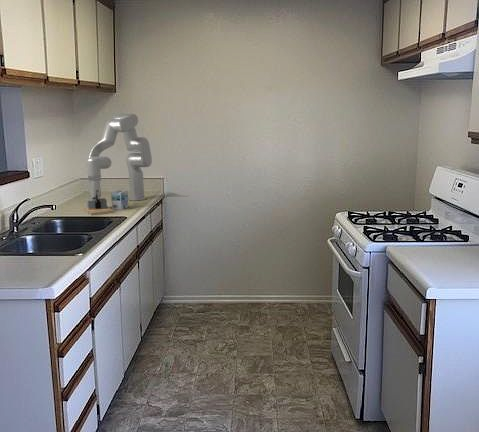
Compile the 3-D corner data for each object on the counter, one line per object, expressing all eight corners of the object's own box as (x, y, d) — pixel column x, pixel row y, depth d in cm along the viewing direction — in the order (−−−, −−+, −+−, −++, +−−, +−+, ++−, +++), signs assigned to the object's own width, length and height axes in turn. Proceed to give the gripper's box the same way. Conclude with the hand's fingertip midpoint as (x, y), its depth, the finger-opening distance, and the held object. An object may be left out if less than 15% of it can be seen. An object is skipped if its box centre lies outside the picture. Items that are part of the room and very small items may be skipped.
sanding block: (87, 207, 341) (86, 199, 340) (105, 206, 345) (104, 198, 344) (88, 209, 335) (88, 201, 334) (107, 207, 340) (106, 199, 339)
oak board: (83, 209, 344) (82, 207, 344) (105, 207, 350) (105, 205, 350) (91, 215, 325) (90, 212, 324) (114, 212, 331) (114, 210, 331)
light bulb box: (122, 210, 340) (120, 192, 337) (111, 210, 341) (110, 192, 339) (128, 207, 350) (127, 190, 348) (118, 207, 351) (117, 190, 349)
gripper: (85, 177, 343) (87, 206, 346) (91, 180, 328) (93, 210, 331) (97, 176, 346) (99, 205, 349) (104, 179, 331) (106, 209, 334)
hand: (96, 207), depth 340 cm, fingers closed on sanding block, 6 cm apart
